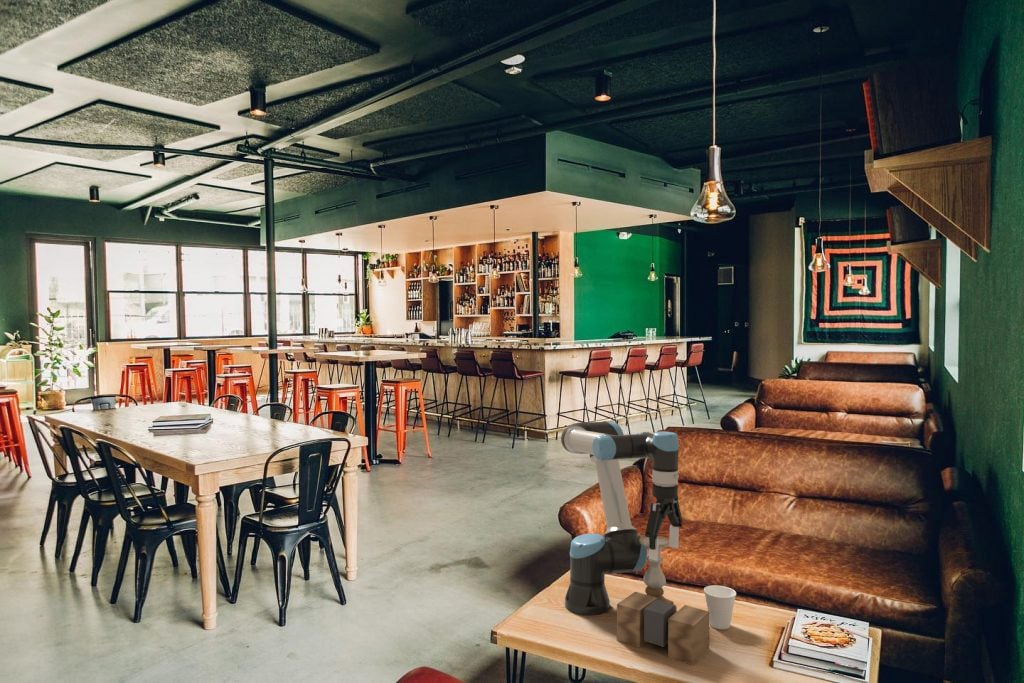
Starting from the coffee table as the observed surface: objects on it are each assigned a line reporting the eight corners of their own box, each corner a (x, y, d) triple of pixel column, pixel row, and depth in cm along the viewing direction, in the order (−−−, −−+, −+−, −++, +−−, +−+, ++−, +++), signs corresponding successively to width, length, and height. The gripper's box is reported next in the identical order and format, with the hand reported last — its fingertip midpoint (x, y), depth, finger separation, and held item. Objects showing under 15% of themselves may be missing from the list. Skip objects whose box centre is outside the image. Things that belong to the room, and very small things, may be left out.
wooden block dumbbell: (616, 640, 194) (617, 603, 194) (635, 626, 204) (635, 591, 203) (693, 665, 179) (693, 625, 179) (709, 648, 189) (709, 611, 189)
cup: (738, 634, 198) (738, 598, 198) (704, 631, 200) (705, 596, 200) (734, 620, 208) (734, 586, 208) (702, 617, 210) (702, 584, 210)
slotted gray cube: (644, 640, 188) (644, 608, 188) (656, 630, 195) (656, 599, 195) (663, 646, 185) (663, 614, 185) (675, 636, 191) (675, 604, 191)
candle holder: (677, 611, 215) (677, 540, 215) (660, 621, 207) (660, 547, 207) (648, 602, 222) (649, 533, 222) (631, 611, 214) (631, 540, 214)
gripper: (657, 493, 182) (656, 568, 183) (694, 478, 201) (692, 545, 202) (633, 489, 187) (632, 561, 187) (671, 474, 206) (670, 540, 207)
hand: (663, 553), depth 195 cm, fingers open, 13 cm apart
